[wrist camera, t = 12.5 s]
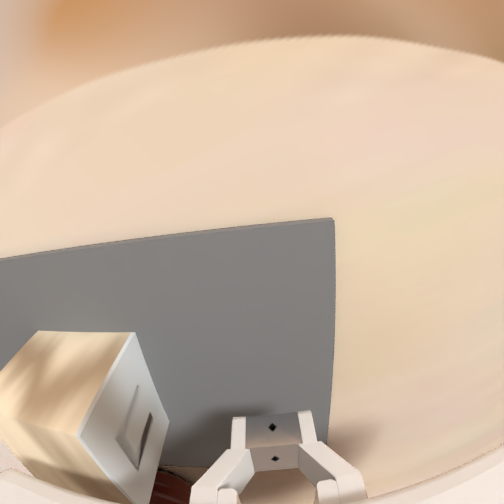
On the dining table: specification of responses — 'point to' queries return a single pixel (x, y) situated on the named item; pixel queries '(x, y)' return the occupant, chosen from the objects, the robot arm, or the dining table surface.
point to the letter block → (84, 414)
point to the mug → (170, 489)
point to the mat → (197, 320)
